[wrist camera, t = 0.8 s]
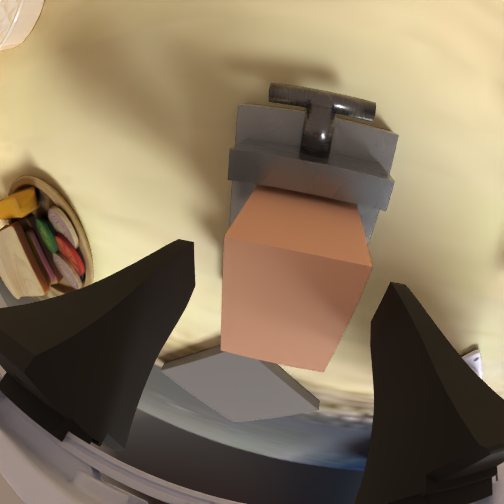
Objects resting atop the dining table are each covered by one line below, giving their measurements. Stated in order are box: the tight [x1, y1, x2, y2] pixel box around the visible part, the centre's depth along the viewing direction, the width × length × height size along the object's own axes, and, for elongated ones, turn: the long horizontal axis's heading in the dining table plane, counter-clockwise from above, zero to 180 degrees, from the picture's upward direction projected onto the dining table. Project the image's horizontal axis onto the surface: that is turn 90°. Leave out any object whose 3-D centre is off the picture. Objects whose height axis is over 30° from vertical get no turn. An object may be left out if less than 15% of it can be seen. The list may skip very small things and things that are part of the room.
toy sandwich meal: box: [0, 176, 94, 299], centre depth 18 cm, size 12×14×5 cm
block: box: [221, 185, 373, 372], centre depth 11 cm, size 5×4×6 cm
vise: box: [228, 83, 398, 245], centre depth 13 cm, size 12×7×4 cm, turn 175°
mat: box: [161, 345, 320, 422], centre depth 24 cm, size 11×11×1 cm
